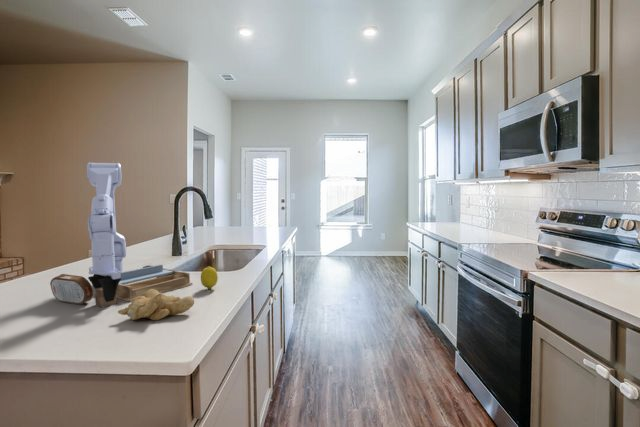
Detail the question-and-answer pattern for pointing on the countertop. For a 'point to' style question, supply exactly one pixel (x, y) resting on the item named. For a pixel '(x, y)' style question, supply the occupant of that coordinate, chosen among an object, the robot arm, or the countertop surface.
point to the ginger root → (156, 305)
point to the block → (102, 298)
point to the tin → (71, 289)
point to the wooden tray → (153, 285)
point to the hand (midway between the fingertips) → (105, 299)
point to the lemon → (209, 277)
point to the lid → (143, 274)
